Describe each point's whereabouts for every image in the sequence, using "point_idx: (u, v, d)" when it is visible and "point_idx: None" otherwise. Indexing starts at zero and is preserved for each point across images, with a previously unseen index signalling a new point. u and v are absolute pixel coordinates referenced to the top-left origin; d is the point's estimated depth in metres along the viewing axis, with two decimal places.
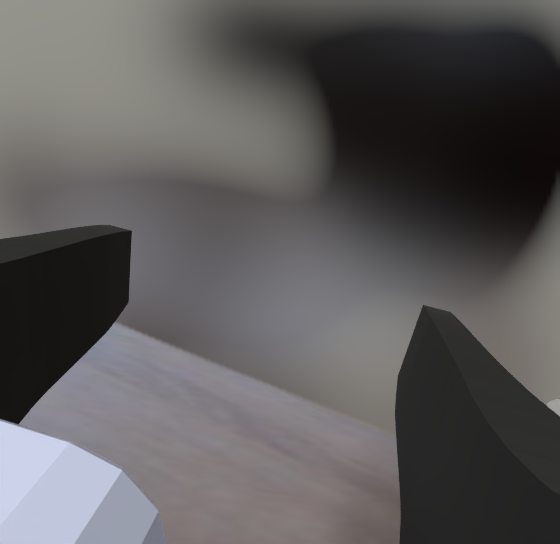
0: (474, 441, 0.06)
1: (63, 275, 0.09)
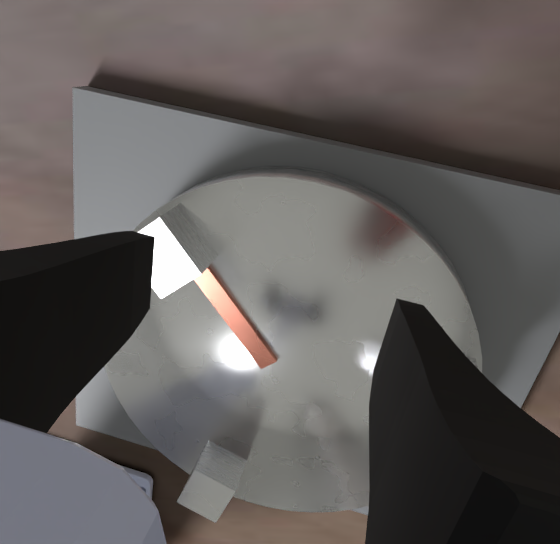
0: (427, 428, 0.06)
1: (91, 282, 0.09)
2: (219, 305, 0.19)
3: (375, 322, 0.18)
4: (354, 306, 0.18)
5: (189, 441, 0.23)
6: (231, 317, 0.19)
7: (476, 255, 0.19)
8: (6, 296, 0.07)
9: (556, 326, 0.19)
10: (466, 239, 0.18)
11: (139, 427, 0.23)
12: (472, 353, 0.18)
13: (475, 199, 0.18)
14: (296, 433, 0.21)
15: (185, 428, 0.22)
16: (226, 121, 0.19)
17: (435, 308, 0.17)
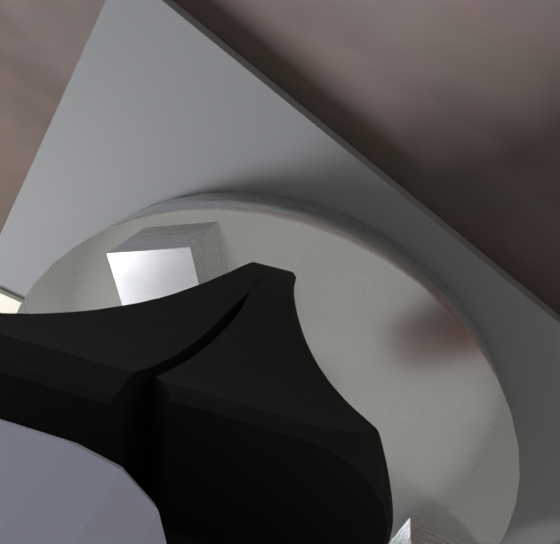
0: None
1: None
2: None
3: (392, 469, 0.14)
4: None
5: None
6: None
7: (534, 426, 0.15)
8: (200, 351, 0.07)
9: None
10: (534, 407, 0.14)
11: None
12: None
13: None
14: None
15: None
16: (323, 131, 0.13)
17: (474, 486, 0.13)
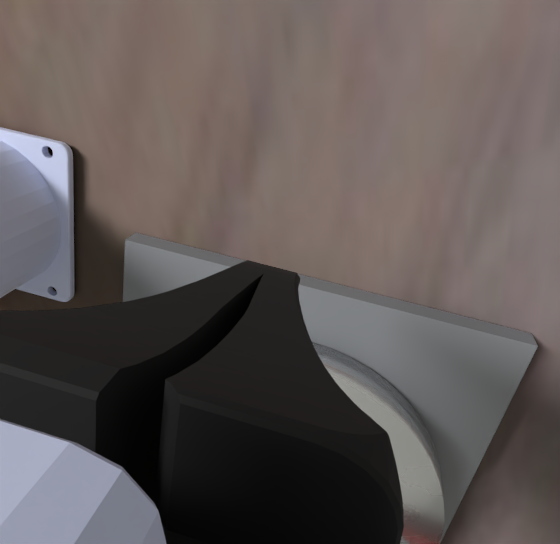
0: None
1: (234, 321, 0.09)
2: None
3: None
4: None
5: None
6: None
7: None
8: (192, 348, 0.07)
9: None
10: None
11: None
12: None
13: None
14: None
15: None
16: (480, 459, 0.22)
17: (417, 524, 0.22)
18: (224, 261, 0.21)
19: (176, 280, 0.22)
